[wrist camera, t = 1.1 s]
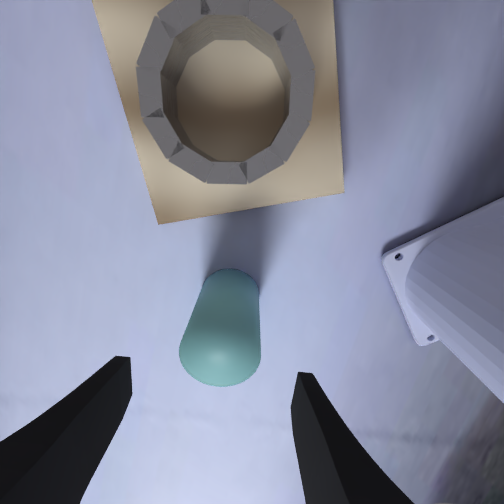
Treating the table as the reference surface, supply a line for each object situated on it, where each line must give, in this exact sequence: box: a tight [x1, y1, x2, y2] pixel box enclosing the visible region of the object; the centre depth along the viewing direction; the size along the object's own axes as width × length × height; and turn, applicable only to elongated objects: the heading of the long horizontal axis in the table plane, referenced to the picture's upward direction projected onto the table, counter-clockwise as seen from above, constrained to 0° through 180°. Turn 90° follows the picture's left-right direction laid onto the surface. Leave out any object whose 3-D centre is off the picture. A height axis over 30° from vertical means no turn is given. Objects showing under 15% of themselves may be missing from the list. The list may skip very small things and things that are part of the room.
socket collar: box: [136, 0, 315, 184], centre depth 13 cm, size 8×8×2 cm
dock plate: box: [92, 0, 344, 225], centre depth 14 cm, size 11×11×1 cm
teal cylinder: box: [179, 269, 261, 387], centre depth 16 cm, size 4×4×6 cm
